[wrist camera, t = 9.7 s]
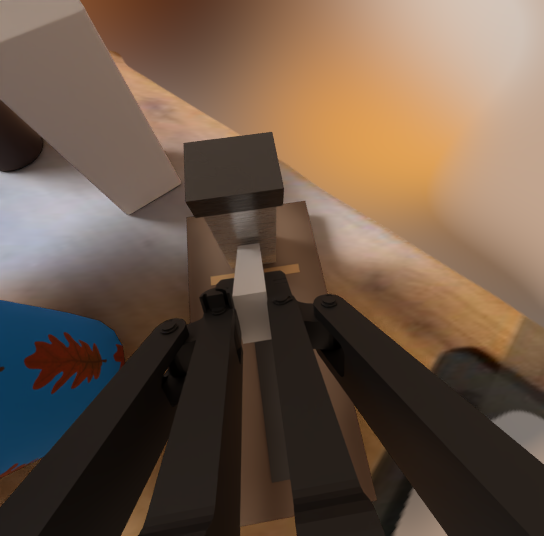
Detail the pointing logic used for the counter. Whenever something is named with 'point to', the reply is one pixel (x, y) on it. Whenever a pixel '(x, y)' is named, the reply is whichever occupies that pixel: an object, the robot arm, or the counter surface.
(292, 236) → the console
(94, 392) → the thermos
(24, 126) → the bottle
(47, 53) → the milk carton
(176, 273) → the counter surface
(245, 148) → the fader handle
